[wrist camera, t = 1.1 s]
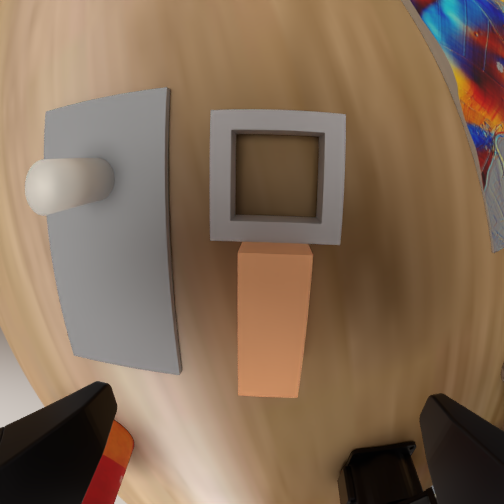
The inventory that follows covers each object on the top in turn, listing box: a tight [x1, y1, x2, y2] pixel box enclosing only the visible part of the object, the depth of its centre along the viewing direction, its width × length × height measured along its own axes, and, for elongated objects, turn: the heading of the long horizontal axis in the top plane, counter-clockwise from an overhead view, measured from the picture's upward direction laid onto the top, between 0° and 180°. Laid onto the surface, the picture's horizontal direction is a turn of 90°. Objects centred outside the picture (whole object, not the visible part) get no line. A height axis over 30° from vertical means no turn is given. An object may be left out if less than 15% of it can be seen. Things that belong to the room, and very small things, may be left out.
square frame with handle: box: [210, 109, 346, 398], centre depth 15 cm, size 14×6×4 cm, turn 179°
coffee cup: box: [82, 420, 134, 504], centre depth 16 cm, size 8×8×15 cm
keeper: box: [25, 87, 182, 375], centre depth 15 cm, size 9×18×6 cm, turn 179°
